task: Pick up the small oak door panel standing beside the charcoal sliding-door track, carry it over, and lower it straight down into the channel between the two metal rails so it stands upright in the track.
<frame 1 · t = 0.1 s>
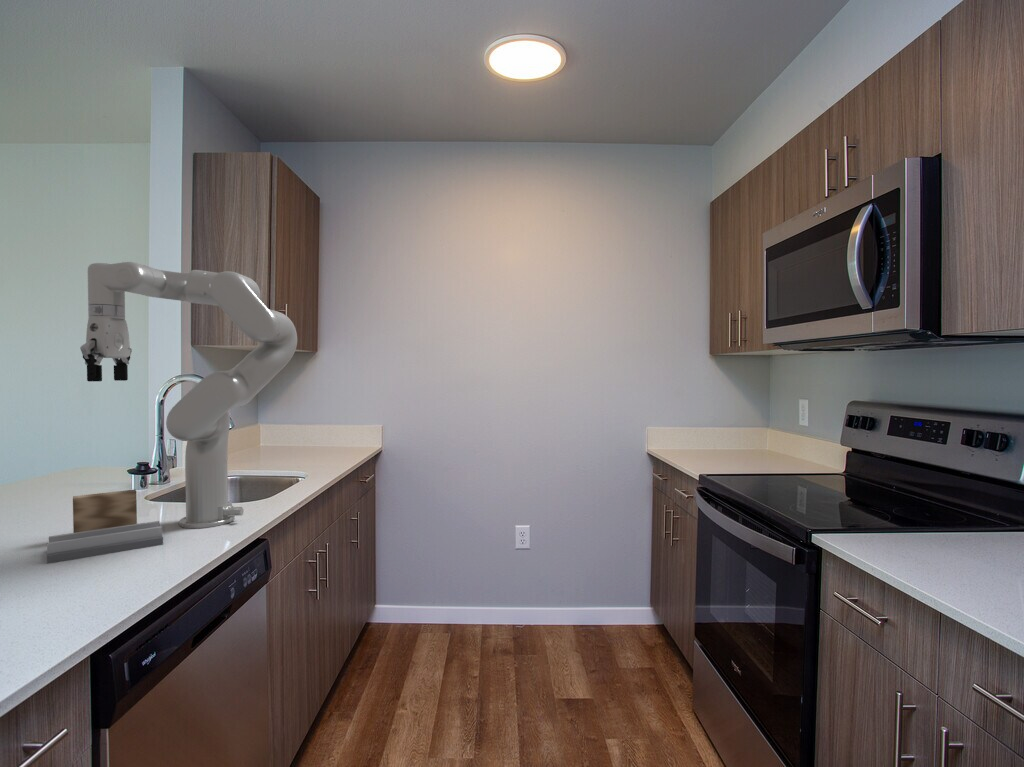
hand: (108, 380, 140), 36 cm above the countertop, tool pointing down, fingers open, 9 cm apart
bottom track: (107, 547, 122), on the countertop
door panel: (106, 535, 131), on the countertop
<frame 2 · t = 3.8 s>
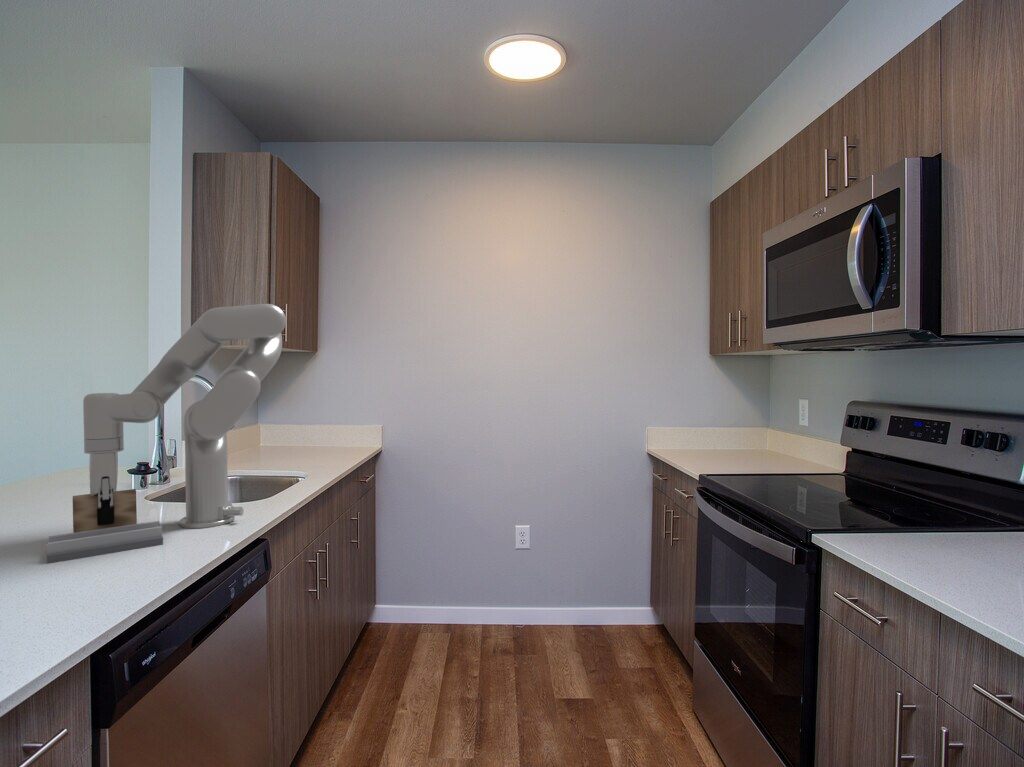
hand: (105, 521, 131), 3 cm above the countertop, tool pointing down, fingers closed on door panel, 2 cm apart
door panel: (105, 535, 131), on the countertop, touching gripper
when the fingers open (5 cm above the countertop, at t = 9.3 s): door panel stays where it is, resting on bottom track.
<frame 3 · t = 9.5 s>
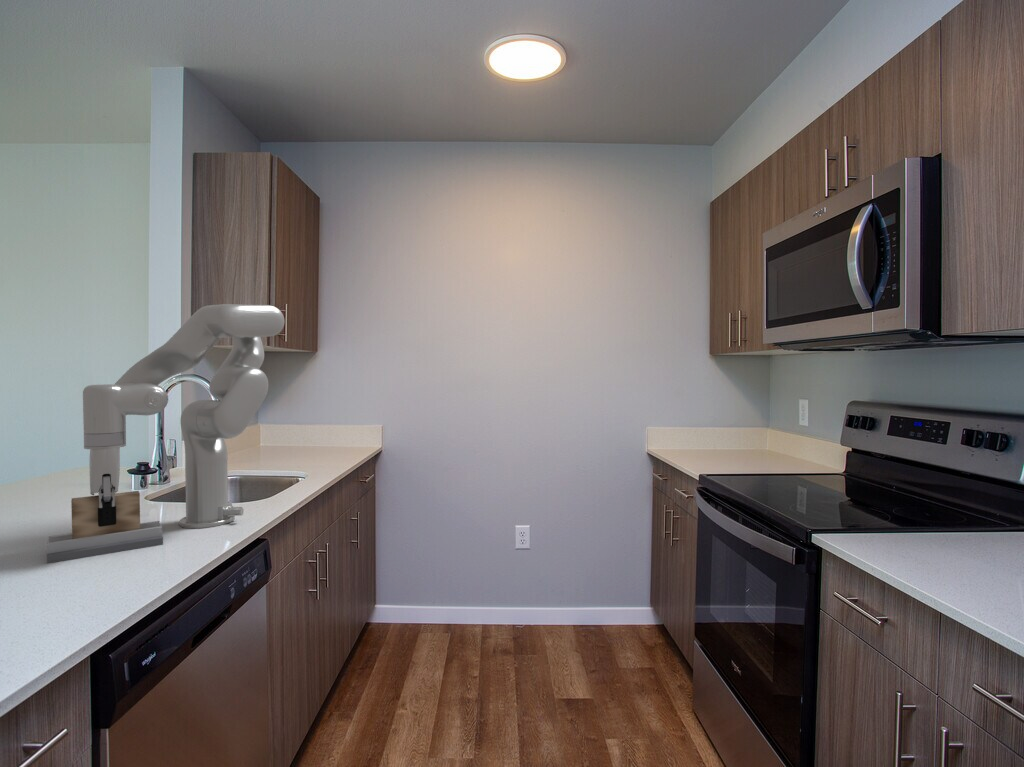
hand: (106, 521, 122), 6 cm above the countertop, tool pointing down, fingers open, 5 cm apart
door panel: (107, 540, 122), point 2 cm above the countertop, touching bottom track
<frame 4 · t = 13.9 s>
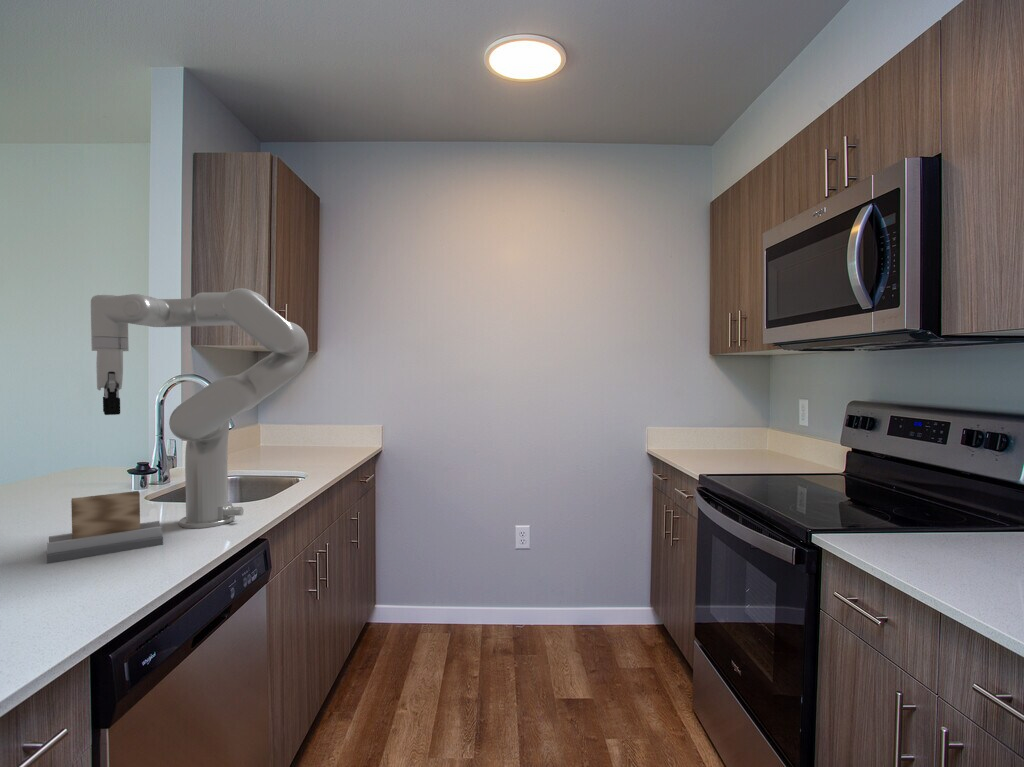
hand: (111, 413, 139), 28 cm above the countertop, tool pointing down, fingers open, 9 cm apart
nothing on the countertop moved.
at the end: door panel 0.1 cm off-centre on the bottom track, point 1.5 cm above the bottom track's base; door panel tilted 0°; the gripper is holding nothing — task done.
